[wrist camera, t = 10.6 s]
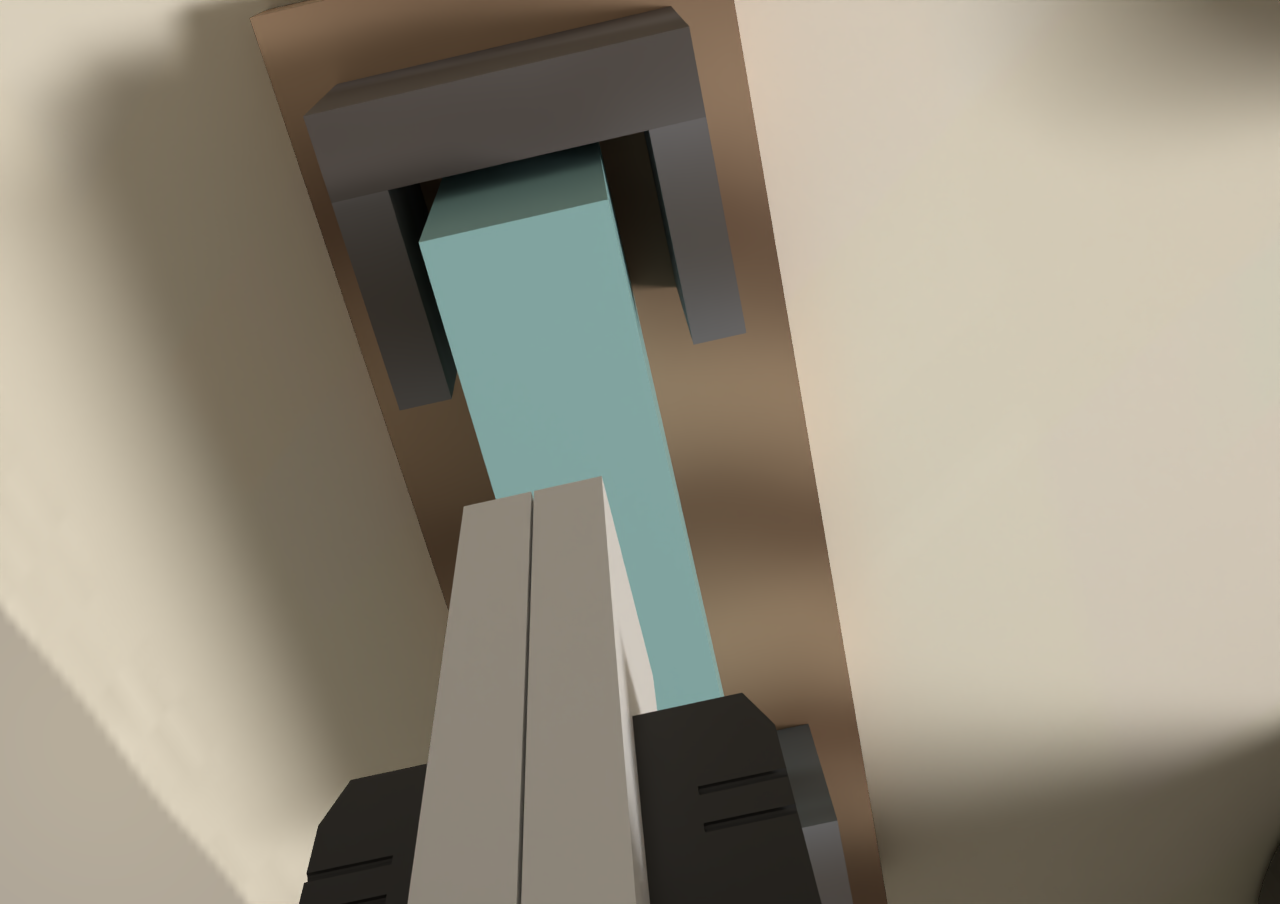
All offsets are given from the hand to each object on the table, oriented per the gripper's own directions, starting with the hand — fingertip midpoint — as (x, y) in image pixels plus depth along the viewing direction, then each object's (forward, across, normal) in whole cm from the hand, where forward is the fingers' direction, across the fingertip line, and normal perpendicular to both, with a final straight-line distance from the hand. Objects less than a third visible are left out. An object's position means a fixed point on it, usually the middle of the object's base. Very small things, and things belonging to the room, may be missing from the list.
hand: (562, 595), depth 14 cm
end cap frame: (+14, 0, +7) cm, 16 cm away
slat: (+13, 0, +6) cm, 14 cm away
